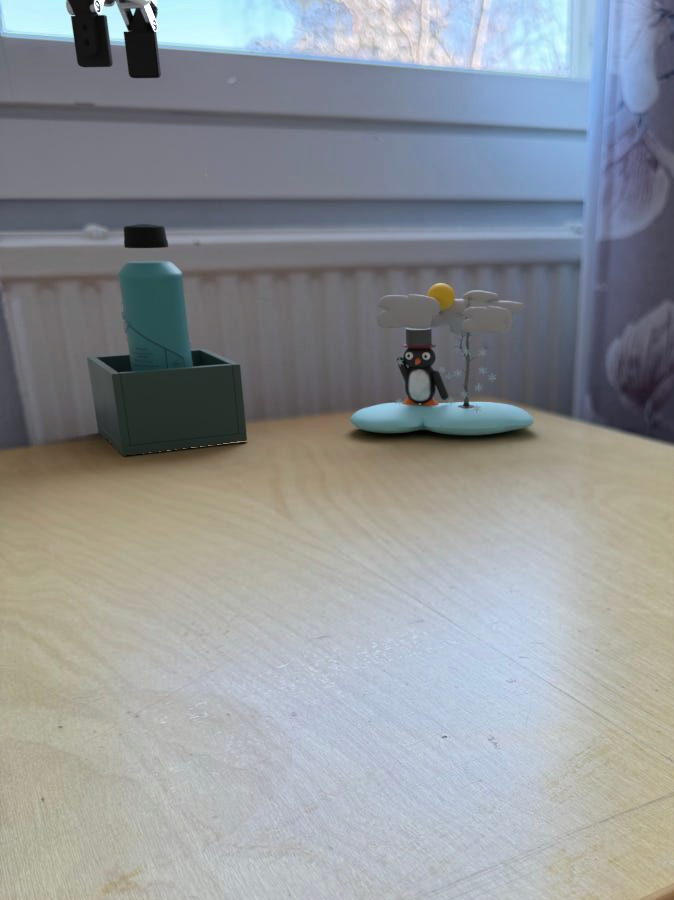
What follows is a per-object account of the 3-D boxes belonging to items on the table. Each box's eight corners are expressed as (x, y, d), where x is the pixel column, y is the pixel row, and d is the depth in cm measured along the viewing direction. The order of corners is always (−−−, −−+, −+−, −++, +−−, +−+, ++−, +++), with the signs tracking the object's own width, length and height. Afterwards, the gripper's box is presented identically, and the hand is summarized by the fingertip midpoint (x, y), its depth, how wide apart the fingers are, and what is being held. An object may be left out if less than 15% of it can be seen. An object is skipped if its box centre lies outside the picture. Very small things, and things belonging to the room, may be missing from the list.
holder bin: (123, 456, 98) (111, 374, 95) (98, 432, 108) (86, 356, 105) (247, 442, 104) (240, 364, 101) (212, 420, 114) (205, 348, 111)
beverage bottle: (206, 421, 109) (184, 223, 101) (194, 434, 103) (170, 225, 95) (146, 421, 109) (119, 223, 100) (130, 435, 102) (100, 225, 94)
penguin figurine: (344, 439, 105) (336, 288, 99) (360, 418, 115) (354, 279, 109) (533, 442, 105) (537, 290, 98) (533, 421, 114) (537, 281, 108)
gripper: (103, -119, 97) (128, 82, 104) (-4, -178, 81) (34, 62, 88) (175, -122, 96) (196, 81, 103) (81, -183, 80) (113, 61, 87)
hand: (121, 72), depth 96 cm, fingers open, 9 cm apart
